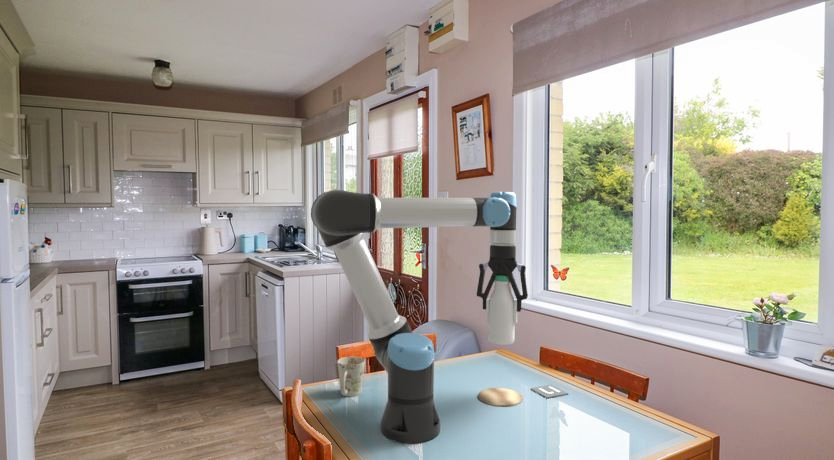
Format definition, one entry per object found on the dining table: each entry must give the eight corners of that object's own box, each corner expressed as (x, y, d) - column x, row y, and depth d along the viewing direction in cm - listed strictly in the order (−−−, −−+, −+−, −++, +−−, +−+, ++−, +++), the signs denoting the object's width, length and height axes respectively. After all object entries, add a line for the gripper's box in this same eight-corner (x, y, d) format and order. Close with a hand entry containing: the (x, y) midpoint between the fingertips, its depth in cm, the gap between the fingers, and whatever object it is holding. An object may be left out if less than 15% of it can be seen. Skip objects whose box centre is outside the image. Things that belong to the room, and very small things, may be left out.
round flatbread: (493, 409, 139) (493, 407, 139) (470, 393, 151) (470, 391, 151) (531, 402, 145) (531, 400, 144) (506, 387, 156) (506, 385, 156)
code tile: (547, 398, 147) (547, 396, 147) (530, 389, 155) (530, 387, 155) (568, 394, 151) (568, 392, 151) (551, 385, 158) (551, 384, 158)
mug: (367, 388, 154) (367, 357, 154) (358, 404, 142) (358, 370, 142) (341, 387, 155) (341, 356, 155) (330, 403, 143) (330, 369, 142)
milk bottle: (516, 345, 143) (517, 276, 142) (489, 345, 143) (490, 276, 142) (512, 338, 151) (513, 273, 150) (486, 338, 151) (487, 272, 150)
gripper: (538, 244, 146) (537, 321, 148) (470, 242, 152) (469, 316, 153) (537, 246, 139) (536, 326, 140) (466, 244, 145) (465, 321, 146)
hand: (501, 321), depth 147 cm, fingers closed on milk bottle, 7 cm apart
